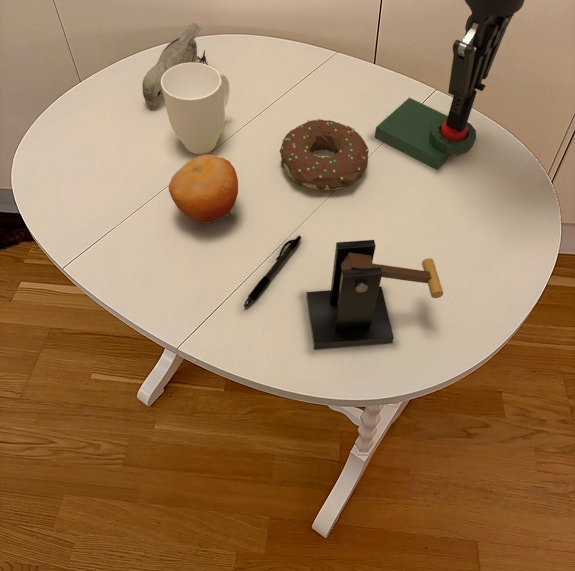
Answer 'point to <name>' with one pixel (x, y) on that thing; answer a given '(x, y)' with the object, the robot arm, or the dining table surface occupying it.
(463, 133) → the button
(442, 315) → the dining table surface
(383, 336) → the switch bracket
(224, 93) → the mug
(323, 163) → the donut
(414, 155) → the button block
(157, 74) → the decorative bird
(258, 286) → the pen
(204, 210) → the fruit
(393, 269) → the lever
